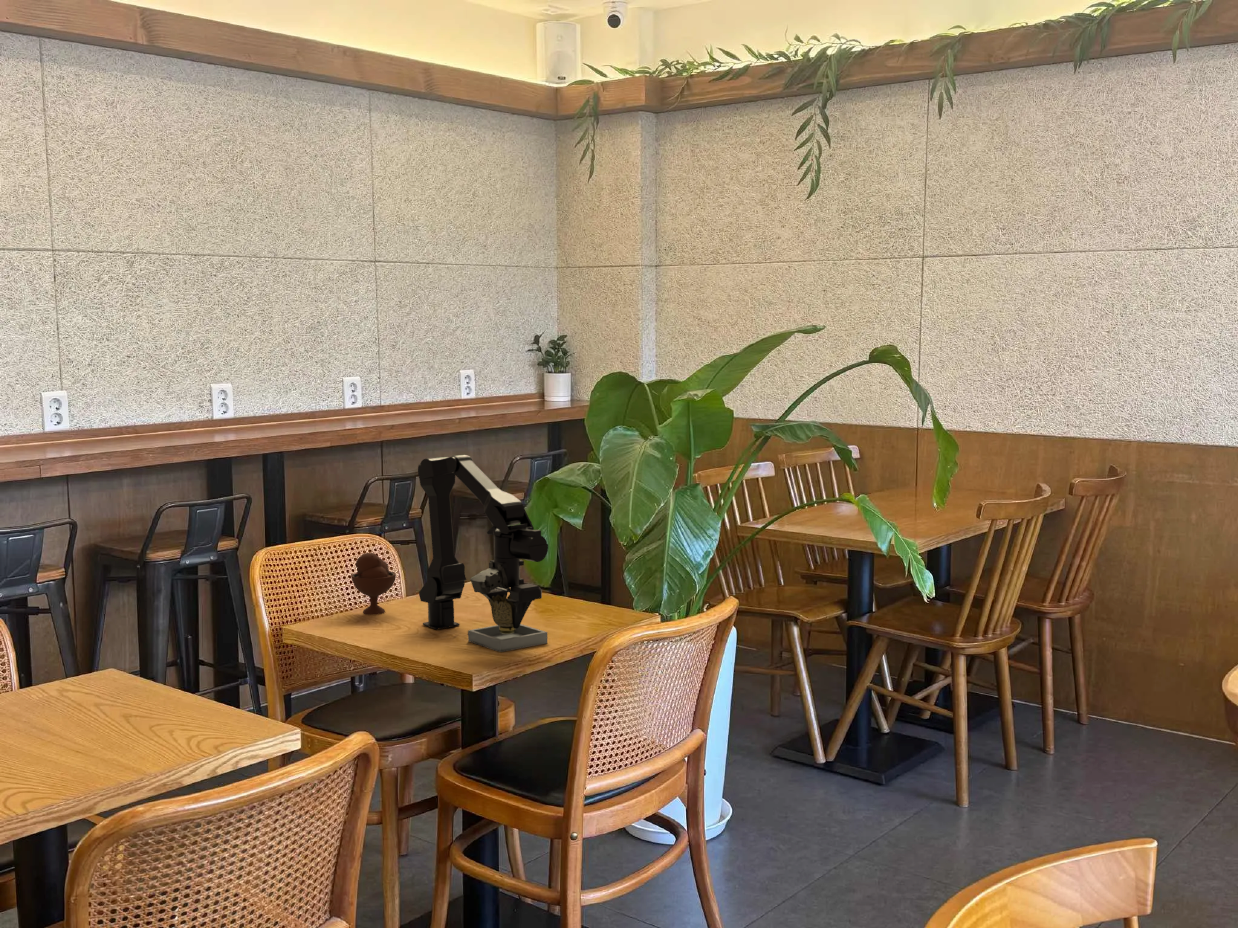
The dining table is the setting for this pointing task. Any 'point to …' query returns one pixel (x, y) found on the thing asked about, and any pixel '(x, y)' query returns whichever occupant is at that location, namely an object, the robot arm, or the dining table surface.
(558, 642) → the dining table surface
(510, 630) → the cup
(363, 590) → the ice cream bowl
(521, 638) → the tray
